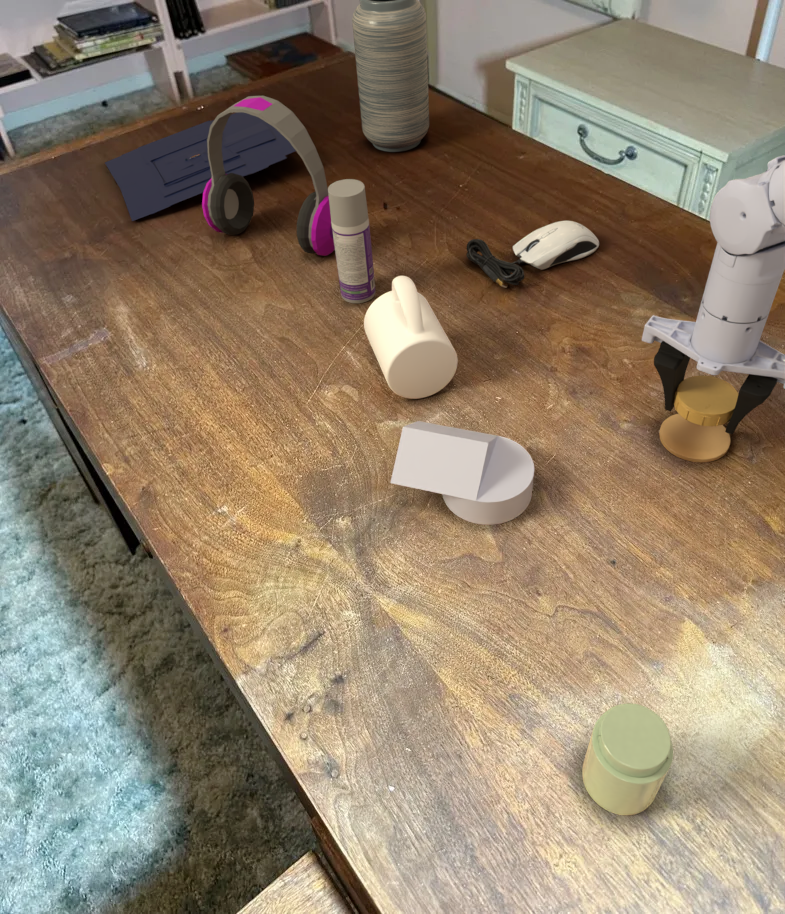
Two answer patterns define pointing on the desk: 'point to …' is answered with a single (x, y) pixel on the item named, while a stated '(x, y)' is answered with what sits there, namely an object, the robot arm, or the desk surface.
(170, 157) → the dark blue flat panel
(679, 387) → the lid
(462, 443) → the wedge on round base
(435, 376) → the mug
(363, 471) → the desk surface
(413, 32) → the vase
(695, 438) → the tan round disc
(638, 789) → the jar
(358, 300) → the container
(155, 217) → the desk surface
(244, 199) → the headphones
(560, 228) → the computer mouse
